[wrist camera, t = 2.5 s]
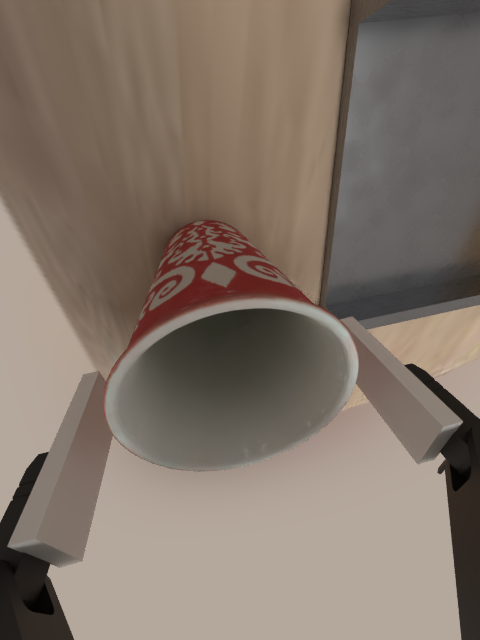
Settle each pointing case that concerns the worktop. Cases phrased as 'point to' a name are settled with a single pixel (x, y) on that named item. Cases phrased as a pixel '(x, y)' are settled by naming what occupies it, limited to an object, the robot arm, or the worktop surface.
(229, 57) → the worktop surface
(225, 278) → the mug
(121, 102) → the worktop surface
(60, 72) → the worktop surface
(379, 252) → the tray
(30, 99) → the worktop surface
